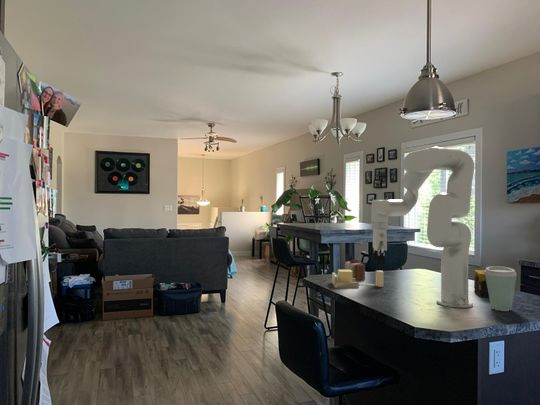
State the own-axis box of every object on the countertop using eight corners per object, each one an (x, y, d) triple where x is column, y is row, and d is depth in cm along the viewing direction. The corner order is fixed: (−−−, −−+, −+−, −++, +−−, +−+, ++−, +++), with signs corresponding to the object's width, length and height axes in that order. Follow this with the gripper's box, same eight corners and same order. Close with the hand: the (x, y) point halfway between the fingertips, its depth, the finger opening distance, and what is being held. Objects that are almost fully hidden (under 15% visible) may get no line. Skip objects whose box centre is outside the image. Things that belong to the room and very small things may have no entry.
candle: (499, 293, 173) (499, 270, 173) (506, 299, 163) (506, 274, 163) (473, 292, 176) (473, 269, 176) (479, 297, 166) (479, 273, 166)
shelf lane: (358, 288, 183) (358, 277, 183) (334, 287, 184) (334, 276, 184) (355, 283, 194) (355, 272, 194) (332, 282, 195) (332, 272, 195)
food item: (342, 276, 213) (342, 258, 214) (357, 276, 215) (357, 257, 215) (353, 281, 200) (353, 261, 200) (368, 280, 202) (368, 261, 202)
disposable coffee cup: (522, 313, 141) (522, 270, 141) (488, 311, 143) (488, 269, 143) (511, 306, 151) (511, 266, 151) (480, 304, 153) (480, 265, 153)
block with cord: (384, 287, 185) (384, 272, 185) (339, 286, 186) (339, 271, 186) (381, 284, 191) (381, 270, 191) (338, 284, 192) (338, 269, 192)
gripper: (392, 227, 180) (391, 265, 180) (383, 224, 197) (382, 259, 197) (375, 227, 180) (374, 265, 180) (368, 224, 197) (367, 259, 198)
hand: (378, 262), depth 189 cm, fingers open, 9 cm apart
